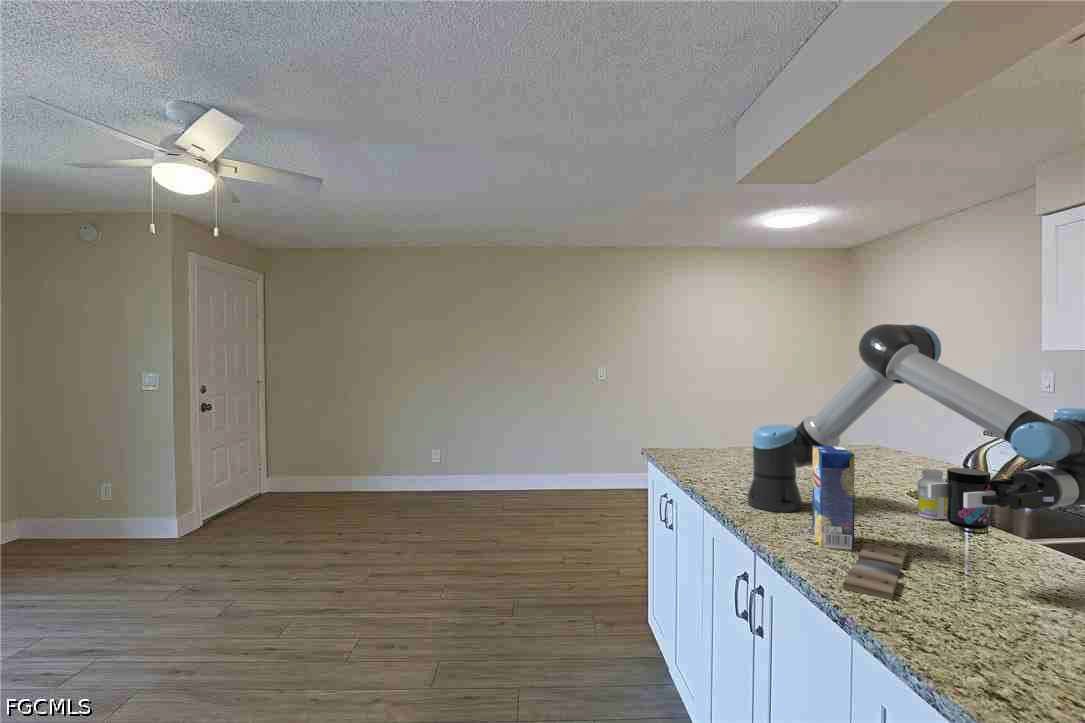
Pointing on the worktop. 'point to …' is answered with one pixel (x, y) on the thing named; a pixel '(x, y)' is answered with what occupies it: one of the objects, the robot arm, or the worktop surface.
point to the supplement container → (956, 487)
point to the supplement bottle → (931, 506)
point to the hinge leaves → (876, 571)
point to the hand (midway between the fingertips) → (946, 495)
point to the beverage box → (833, 497)
